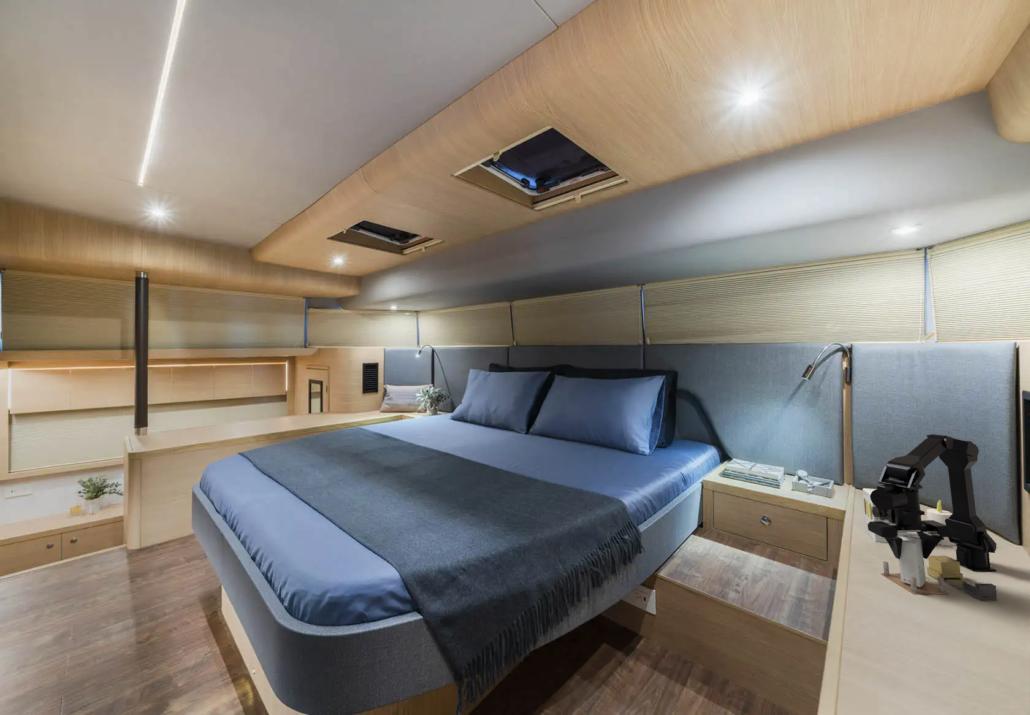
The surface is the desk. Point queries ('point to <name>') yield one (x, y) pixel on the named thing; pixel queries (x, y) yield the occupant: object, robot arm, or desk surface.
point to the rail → (975, 589)
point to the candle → (940, 520)
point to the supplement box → (870, 517)
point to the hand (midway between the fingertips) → (911, 558)
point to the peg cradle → (924, 589)
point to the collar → (944, 567)
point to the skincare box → (912, 561)
